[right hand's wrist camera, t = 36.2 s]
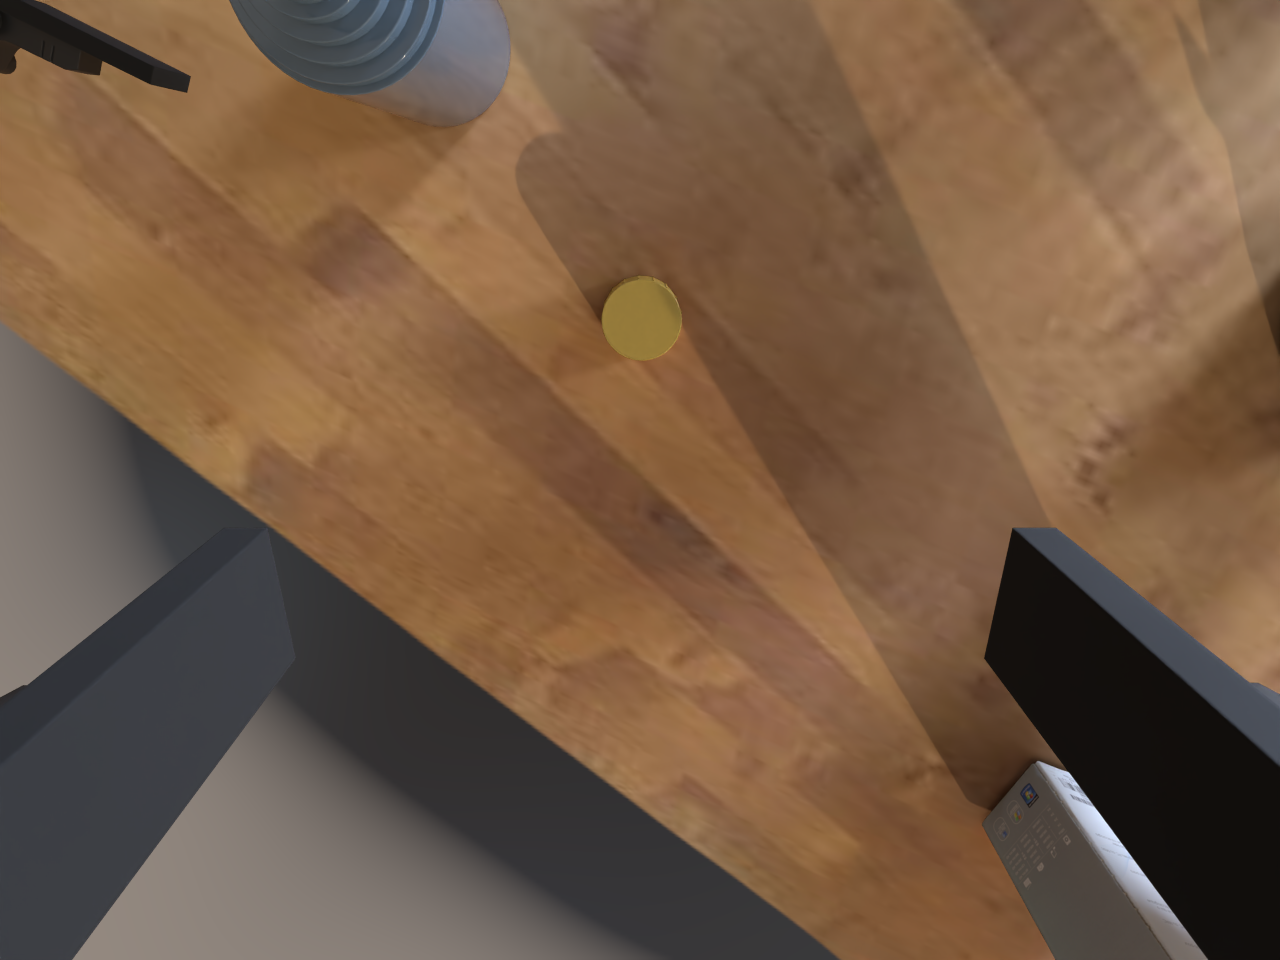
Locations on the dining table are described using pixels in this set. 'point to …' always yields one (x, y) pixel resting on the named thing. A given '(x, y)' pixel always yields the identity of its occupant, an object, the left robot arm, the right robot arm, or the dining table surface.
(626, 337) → the cap
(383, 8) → the bottle
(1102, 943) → the hard drive box
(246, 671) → the right robot arm
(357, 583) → the dining table surface
